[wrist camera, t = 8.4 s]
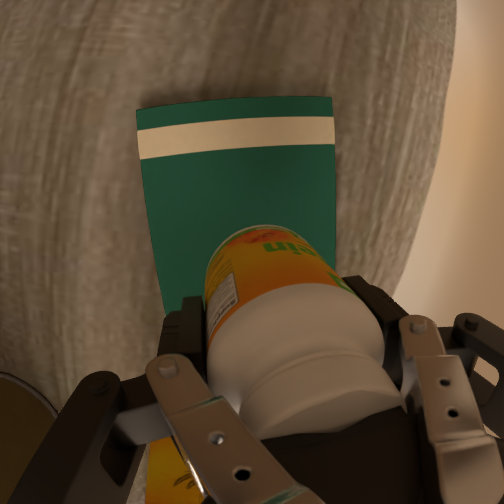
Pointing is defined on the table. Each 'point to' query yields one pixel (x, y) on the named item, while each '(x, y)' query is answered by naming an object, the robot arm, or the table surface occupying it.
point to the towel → (234, 179)
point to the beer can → (169, 476)
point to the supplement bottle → (290, 338)
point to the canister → (20, 429)
